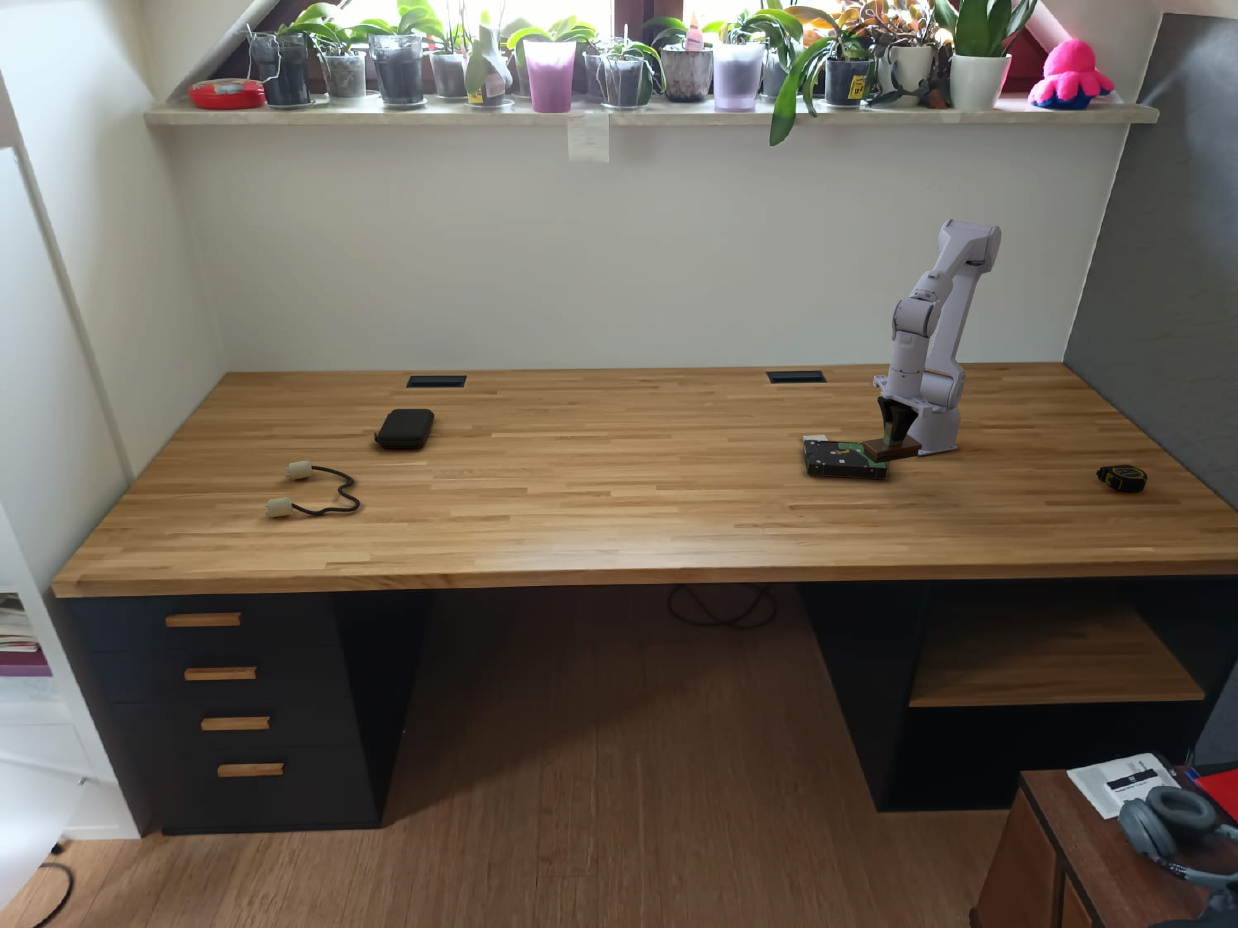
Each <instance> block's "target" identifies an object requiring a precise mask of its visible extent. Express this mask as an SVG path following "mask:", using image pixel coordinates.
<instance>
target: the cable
mask: <svg viewBox="0 0 1238 928" xmlns="http://www.w3.org/2000/svg"><path fill="white" fill-rule="evenodd" d="M314 470H315V471H320V472H325V473H330V474H333V475H336V476H338V477H341V478H344V479H345V480H347V481H348V482H346V483H344V484H341V485H340V486H338V488H337V493H338V494H339V495H340V496H342V497H343V498H345V499H347V500H350V501H351V502H353V503H355V505H353V506H351V507H332V506H331V507H325V508H322V509H321V510H310V509H307V508H304V507H302V506H300V505H299V504H298V505H297V504H295V503H294V501H293V499H291V497H289V496H285V497H279V498H272V499H271V498H270V499H269V500H268V501H267V504H265V505H264V508H267V511H264V515H265V516H269V517H270V518H276V517H277V518H278V517H284V516H291V515H292V513H293V512H294V510H297V511H299V512H301V513H304V514H306V515H311V516H321V515H323V514H325V513H327V512H328V513H329V512H331V513H332V512H335V513H350V512H356V510H358V509H359V507H360V506H361V502H360V500H359V499H358V498H356V497H355V496H352V495H350V494H348V493H346V492H345V491H344V489H346V488H348V487H350V486H352V485H353V484H354V479H353V477H351V476H350V475H348V474H346V473H344V472H342V471H339V470H336V469H334V468H329V467H324V466H317V465H312V463H311V462H310V461H309V460H308V459H307V460H301V461H295V462H290V463H288V467H287V468H285V471H287V473H288V474H286V478H288V479H289V478H291V479H292V480H299V479H304V478H311V476H312V475H313V471H314Z"/></svg>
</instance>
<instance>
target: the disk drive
mask: <svg viewBox="0 0 1238 928" xmlns="http://www.w3.org/2000/svg"><path fill="white" fill-rule="evenodd" d="M862 443H863V442H855V441H854V442H853V441H835V440H828V441H822V440H804V441H803V448H802V450H803V457H804V463H805V469H806V474H807V475H810V476H821V477H822V476H823V477H838V478H839V477H840V478H855V479H858V478H859V479H872V480H873V479H876V480H879V479H880V480H883V479H884V480H886V479H887V475H888V469H889V467H888V464H887V462H882V463H874V462H873V461H872V460H870V459H869V458H868V457H867V456H865V455H864V454H863V452H864V447H863V446H862Z"/></svg>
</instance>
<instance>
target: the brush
mask: <svg viewBox="0 0 1238 928" xmlns="http://www.w3.org/2000/svg"><path fill="white" fill-rule="evenodd" d="M892 430H893V421H891V422H886V426H885V432H884V431H883V432H884V433H883V437H881V438H873V439H868V440H863V441H862V442H861V443H862V446H863V447H864V452H863V454H864V455H865V456H867V457H868V458H869V459H870V460H872V461H873V462H874V463H882V462H886V463H887V462H892V461H899V460H903V459H911V458H915V457H919V456H918V452H919V450H920V449H922V444H921V443H919V442H918V441H916V440H915V439H914V438H912V437H911V436H909V435H908V434H907V435H906V437H905V439H904V440H903V441H897V442H894V441H893V440H892Z"/></svg>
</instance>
